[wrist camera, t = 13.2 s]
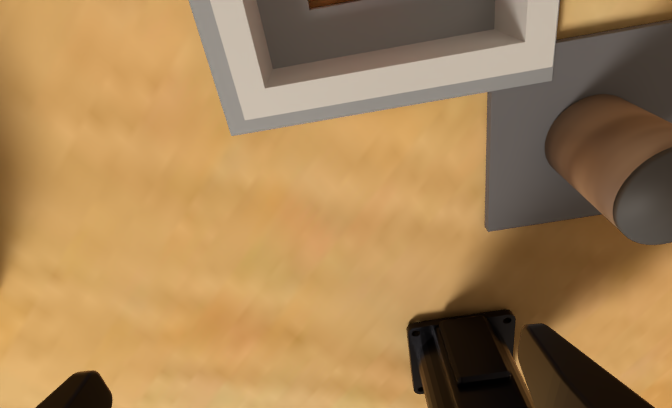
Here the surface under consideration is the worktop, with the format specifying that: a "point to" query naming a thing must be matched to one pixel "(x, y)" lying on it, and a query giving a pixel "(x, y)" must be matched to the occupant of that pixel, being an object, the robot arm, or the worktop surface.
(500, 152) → the pad
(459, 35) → the grey square tray
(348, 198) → the worktop surface
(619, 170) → the dowel
